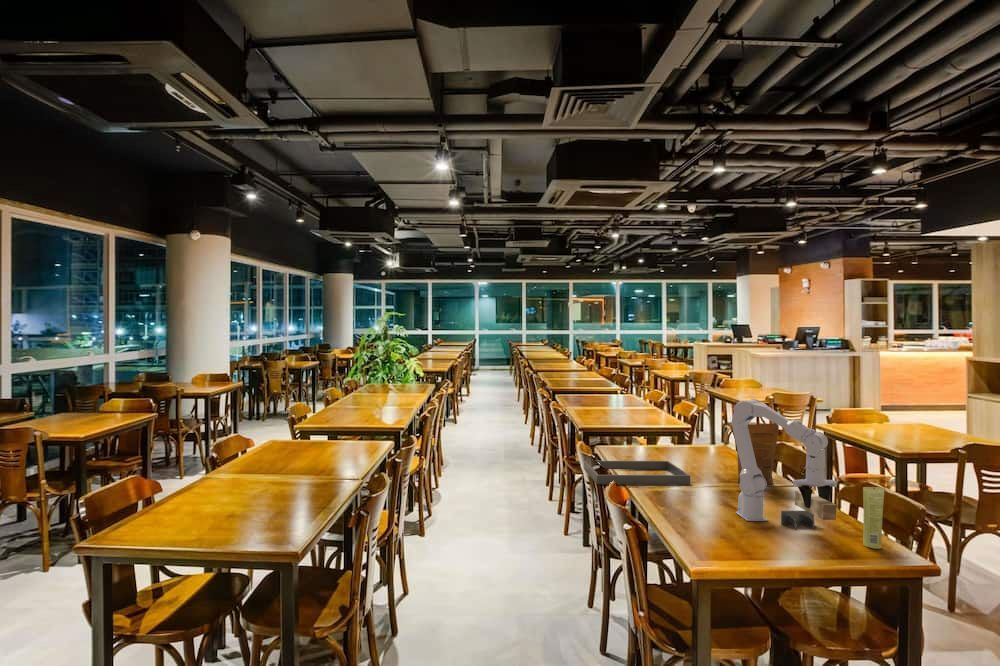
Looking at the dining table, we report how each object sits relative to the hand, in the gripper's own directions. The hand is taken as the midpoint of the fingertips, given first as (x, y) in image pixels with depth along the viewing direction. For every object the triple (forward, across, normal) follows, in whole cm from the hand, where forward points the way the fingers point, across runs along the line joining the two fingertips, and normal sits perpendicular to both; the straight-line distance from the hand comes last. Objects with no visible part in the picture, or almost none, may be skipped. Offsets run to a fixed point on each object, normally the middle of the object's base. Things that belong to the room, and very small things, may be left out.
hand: (814, 507), depth 195 cm
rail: (+2, 0, 0) cm, 2 cm away
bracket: (+9, 0, +8) cm, 12 cm away
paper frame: (+9, -40, +76) cm, 86 cm away
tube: (+10, +13, -11) cm, 20 cm away
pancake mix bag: (+10, +13, +63) cm, 65 cm away
